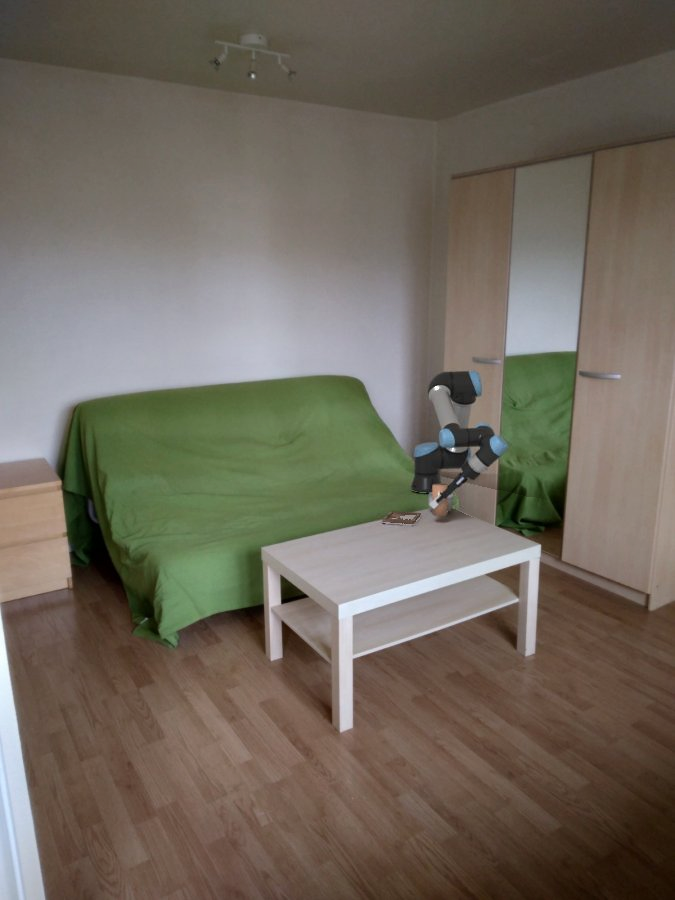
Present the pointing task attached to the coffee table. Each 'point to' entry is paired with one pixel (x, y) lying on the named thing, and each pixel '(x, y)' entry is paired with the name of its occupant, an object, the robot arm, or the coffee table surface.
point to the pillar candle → (442, 507)
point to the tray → (397, 514)
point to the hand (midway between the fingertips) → (433, 504)
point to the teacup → (449, 501)
